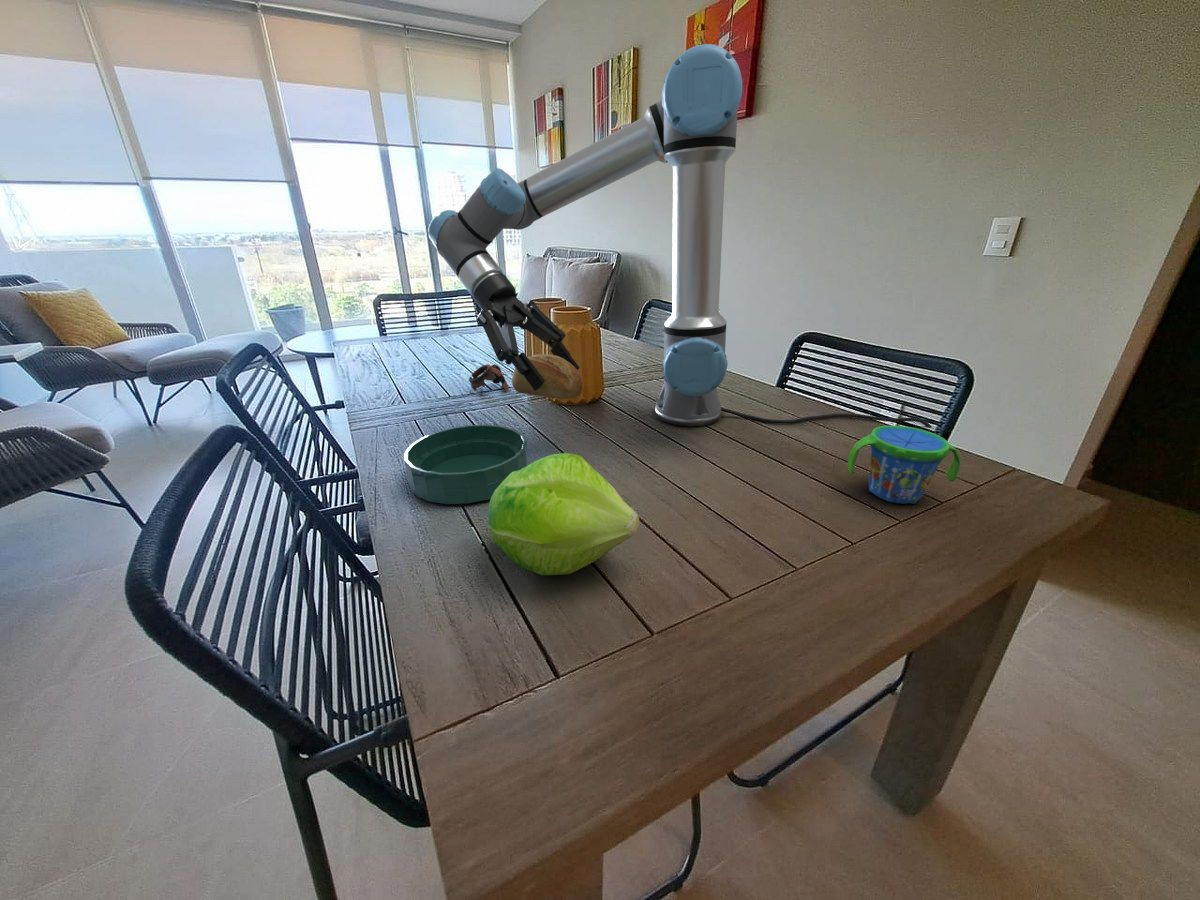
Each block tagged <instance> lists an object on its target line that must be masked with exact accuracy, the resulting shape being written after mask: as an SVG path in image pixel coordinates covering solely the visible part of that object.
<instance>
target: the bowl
mask: <svg viewBox="0 0 1200 900" xmlns="http://www.w3.org/2000/svg"><path fill="white" fill-rule="evenodd" d="M529 458H530V457H529V447H528V440H527V439H526V437H525V435H524V434H523V433H521V432H520V431H518V430H516V429H514V428H511V427H507V426H504V425H495V424H469V425H468V424H467V425H462V426H455V427H450V428H446V429H442V430H438V431H434V432H433V433H430V434H428V435H425V436H423V437H420V438H419V439H418V440H416V441H414V442H413V443H411V444H410V445H409V446H408V447H407V449H406V450H405V451H404V455H403V461H404V467H405V470H406V475H407V480H408V485H409V490H411V492H413V493H414V494H415V495H416V497H418V498H420V499H423V500H425V501H427V502H430V503H435V504H436V503H437V504H444V505H458V504H459V505H460V504H461V505H463V504H472V503H477V502H482V501H488V500H491V497H492V495H493V493H494V491H495V490H496V489H497V487H498V486H499V485H500V484H501V483H502V482H503V481H504V480H505V479H506V478H507V477H508V476H509V475H510V474H511V473H512V472H513V471H517V470H521V469H522V468H524V467H526V466H528V465H529V464H530V459H529Z"/></svg>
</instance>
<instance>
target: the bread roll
mask: <svg viewBox="0 0 1200 900" xmlns="http://www.w3.org/2000/svg"><path fill="white" fill-rule="evenodd" d="M527 358H528V359H529V360H530V362H531V363H532V364H533V366H534V367H535V368H536V370H537V371H538V372H539V374H540V375H541V376H542V378H543V379H544V380H545V382H544V383H543V384H542V385H541V386H540V387H539V389H538V390H536V391H535V390H534V389H533V388H532V386H531V385H530V384H529V382H528V381H527V380H526V378H525V377H524V375H521V374H520V373H519V372H518V370H517V369H516V368H515V367H514V370H513V373H512V377H511V384H512V387H513V389H514V390H515V392H517V393H518V394H523V395H529V396H530V395H531V396H538V397H543V398H544V397H545V398H550V399H557V400H571V399H574V398H577V397H579V396H580V395H582V393H583V385H584V384H583V381H582V376H581V374H580V372H579V369H578V370H577V369H576V368H575V367H574V366H573V365H572V364H571V363H570V362H568V361H567V360H565V359H564V358H561V357H559V356H555V355H553V354H547V353H540V354H533V355H531V356H527Z"/></svg>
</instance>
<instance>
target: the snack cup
mask: <svg viewBox="0 0 1200 900" xmlns="http://www.w3.org/2000/svg"><path fill="white" fill-rule="evenodd" d="M867 446H870V460H869V473H868V474H869V475H868V491H869V492H870V493H872V494H873V495H875V496H876V497H878V498H879V499H881V500H884V501H886V502H888V503H895V504H903V505H904V504H905V505H907V504H912V505H915V504H916V503H917V502H918V501H920V500H921V499H922V498H923V496H924V494H925V492H926V491H927V489H928V487H929V485H930V483H931V481H932V479H933V477H934V475H935V473H936V472H937V470H938V467H939V465H940V463H941V462H942V461H943V460H944V459H945V458H946V457H947V456H948V454H949V451H951V452H952V453H953V460H952V461H951V464H950V465H949V468H948V469H947V471H946V473H945V477H946V479H947V480H948V481H949V482H953V483H954V482H955V481H956V480H957V478H958V477H959V475H960V471H961V465H962V458H961V454H960V452H959V450H958V449H957V448H955V447H954V445H952V443H951V444H950V443H949V441H948V440H947V439H946V438H944V437H942V436H940V435H938V434H936V433H934V432H931V431H928V430H924V429H921V428H917V427H912V426H905V425H881V426H877V427H875V428H873V429H872V431H871V432H870V433H869V434H868V435H866V436H863V437H862V438H860V439H859V440H858V441H856V443H855V444H854V445H853V446H852V448H851V449H850V451H849V454H848V456H847V469H848V471H849V473H850V474H851V475H853V474H854V473H855V472H854V471H855V470H854V468H855V465H856V461H857V458H858V455H859V452H860V450H862V449H863V448H865V447H867Z"/></svg>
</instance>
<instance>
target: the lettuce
mask: <svg viewBox="0 0 1200 900" xmlns="http://www.w3.org/2000/svg"><path fill="white" fill-rule="evenodd" d="M487 525H488V529H489V532H490V535H491V538H492V541H493V542H494V544H495V545H496V546H497V547H498V548H499V549H500V550H501V551H502V552H503V553H504V554H505V555H506V556H507V558H509V560H510V561H512V563H513V564H514V565H516V566H518V567H521V568H523V569H525V570H528V571H531V572H533V573H535V574H538V575H540V576H555V575H556V576H559V575H571V574H573V573H575V572H578V571H579V570H581V569H583V568H585V567H587V566H589V565H591V564H592V563H594V562H596V561H597V560H599V559H600V558H602V557H603V556H605V555H606V554H608V553H609V552H610V551H612V550H613V549H614V548H615V547H617V546H619V545H621V544H622V543H624V542H625V541H627V540H629V539H630V538H632V537H633V536H634V535H635V534H636V533H637V532H638V530H639V528H640V517H639V515H638V514H637V512H636V511H635V509H633V508H632V507H631V506H630V505H629V504H628V503H627V502H626V501H625V500H624V499H623V498H622V497H621V496H620V494H619V493H618V491H617V490H616V489H615V488H614V487H613V486H612V485H611V484H610V482H609V481H608V480H607V479H606V478H605V477H603V476H602V474H601V473H599V472H598V471H597V470H596V469H594V468H593V466H592V465H590V463H588V462H587V461H586V460H585V459H584V457H582V456H581V455H580V454H574V453H569V452H562V453H552V454H550V455H546V456H544V457H541V458H538V459H536V460H534V461H532V462H531V463H529V465H528V466H526V467H524V468H522V469H521V470H517V471H513V472H512V473H511V474H510V475H509V476H508V477H507V478H506V479H505V480H504V481H503V482H502V483H501V484H500V485H499V486H498V487H497V489H496V490H495V491H494V493H493V495H492V497H491V499H489V504H488V518H487Z"/></svg>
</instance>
